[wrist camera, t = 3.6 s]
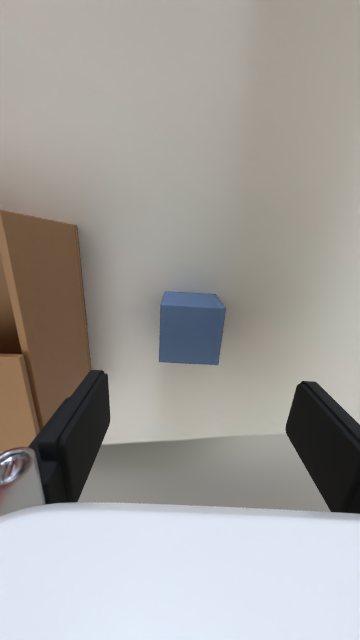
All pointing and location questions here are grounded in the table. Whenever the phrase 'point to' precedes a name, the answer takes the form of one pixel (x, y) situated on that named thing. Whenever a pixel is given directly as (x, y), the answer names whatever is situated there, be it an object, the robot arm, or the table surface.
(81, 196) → the table surface
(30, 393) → the carton
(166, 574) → the robot arm
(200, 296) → the block
